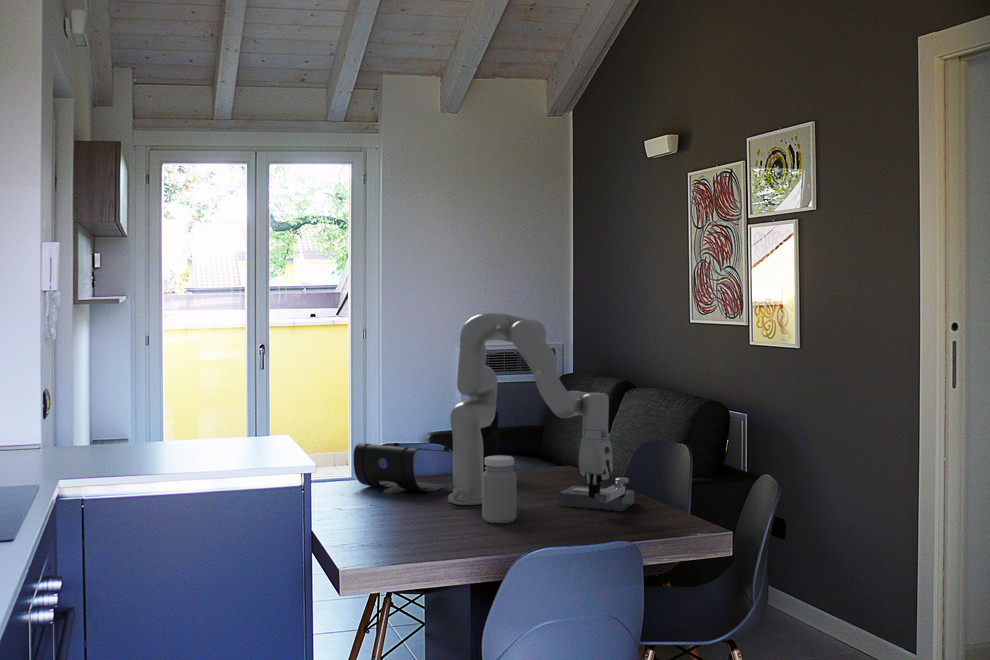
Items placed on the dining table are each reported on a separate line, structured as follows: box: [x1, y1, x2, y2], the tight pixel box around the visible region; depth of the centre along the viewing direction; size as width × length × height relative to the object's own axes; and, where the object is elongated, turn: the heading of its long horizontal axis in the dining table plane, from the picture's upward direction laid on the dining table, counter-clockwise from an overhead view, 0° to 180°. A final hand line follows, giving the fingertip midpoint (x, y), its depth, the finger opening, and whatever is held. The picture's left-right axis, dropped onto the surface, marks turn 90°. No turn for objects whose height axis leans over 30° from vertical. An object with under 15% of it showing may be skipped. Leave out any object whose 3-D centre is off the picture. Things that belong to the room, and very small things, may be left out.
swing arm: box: [594, 476, 630, 503], centre depth 267 cm, size 4×20×4 cm, turn 153°
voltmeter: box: [480, 410, 499, 473], centre depth 324 cm, size 16×9×25 cm, turn 25°
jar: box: [481, 454, 518, 524], centre depth 255 cm, size 10×10×18 cm
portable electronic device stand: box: [353, 442, 452, 495], centre depth 304 cm, size 26×24×16 cm
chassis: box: [558, 483, 635, 512], centre depth 278 cm, size 13×20×7 cm, turn 65°
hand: (594, 497), depth 264 cm, fingers closed
